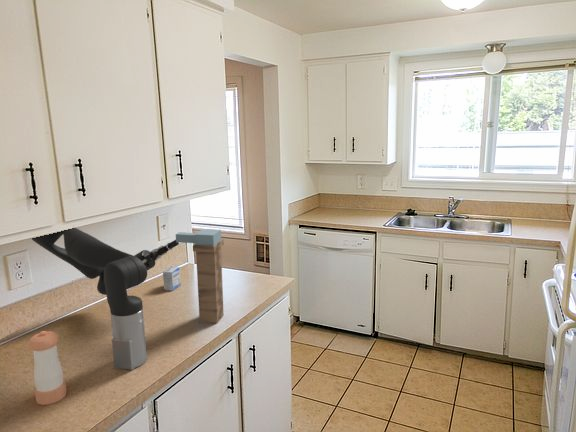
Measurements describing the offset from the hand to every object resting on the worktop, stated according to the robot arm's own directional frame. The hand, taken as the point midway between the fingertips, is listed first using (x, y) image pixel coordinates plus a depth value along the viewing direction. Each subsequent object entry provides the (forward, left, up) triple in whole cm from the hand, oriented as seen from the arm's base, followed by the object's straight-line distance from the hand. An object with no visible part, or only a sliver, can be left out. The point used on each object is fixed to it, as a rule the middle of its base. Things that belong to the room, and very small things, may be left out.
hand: (172, 244), depth 158 cm
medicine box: (+27, +15, -29) cm, 42 cm away
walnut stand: (0, -14, -28) cm, 32 cm away
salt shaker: (-53, +12, -29) cm, 61 cm away
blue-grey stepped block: (0, -10, +2) cm, 10 cm away
